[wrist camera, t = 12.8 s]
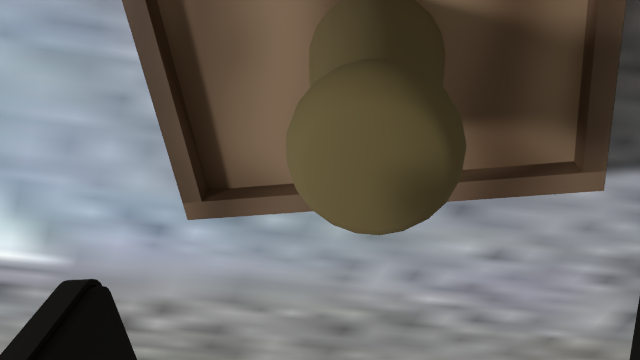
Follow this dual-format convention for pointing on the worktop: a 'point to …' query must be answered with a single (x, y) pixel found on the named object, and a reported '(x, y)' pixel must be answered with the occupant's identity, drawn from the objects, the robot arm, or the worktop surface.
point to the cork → (376, 119)
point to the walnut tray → (459, 81)
